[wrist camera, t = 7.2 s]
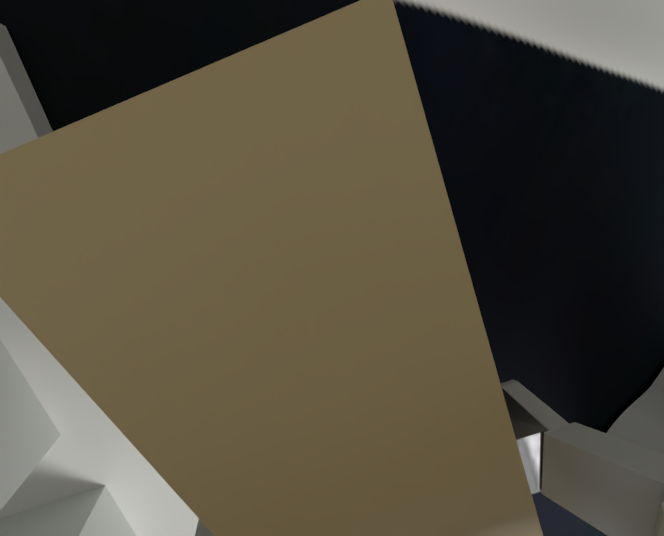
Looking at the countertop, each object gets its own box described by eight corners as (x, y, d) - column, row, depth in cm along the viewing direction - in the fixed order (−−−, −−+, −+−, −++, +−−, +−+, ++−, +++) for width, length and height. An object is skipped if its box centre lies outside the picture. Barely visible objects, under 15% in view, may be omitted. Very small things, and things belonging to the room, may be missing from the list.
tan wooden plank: (316, 107, 7) (389, -13, 3) (471, 503, 13) (587, 696, 8) (145, 183, 7) (-93, 193, 3) (375, 554, 13) (436, 782, 8)
